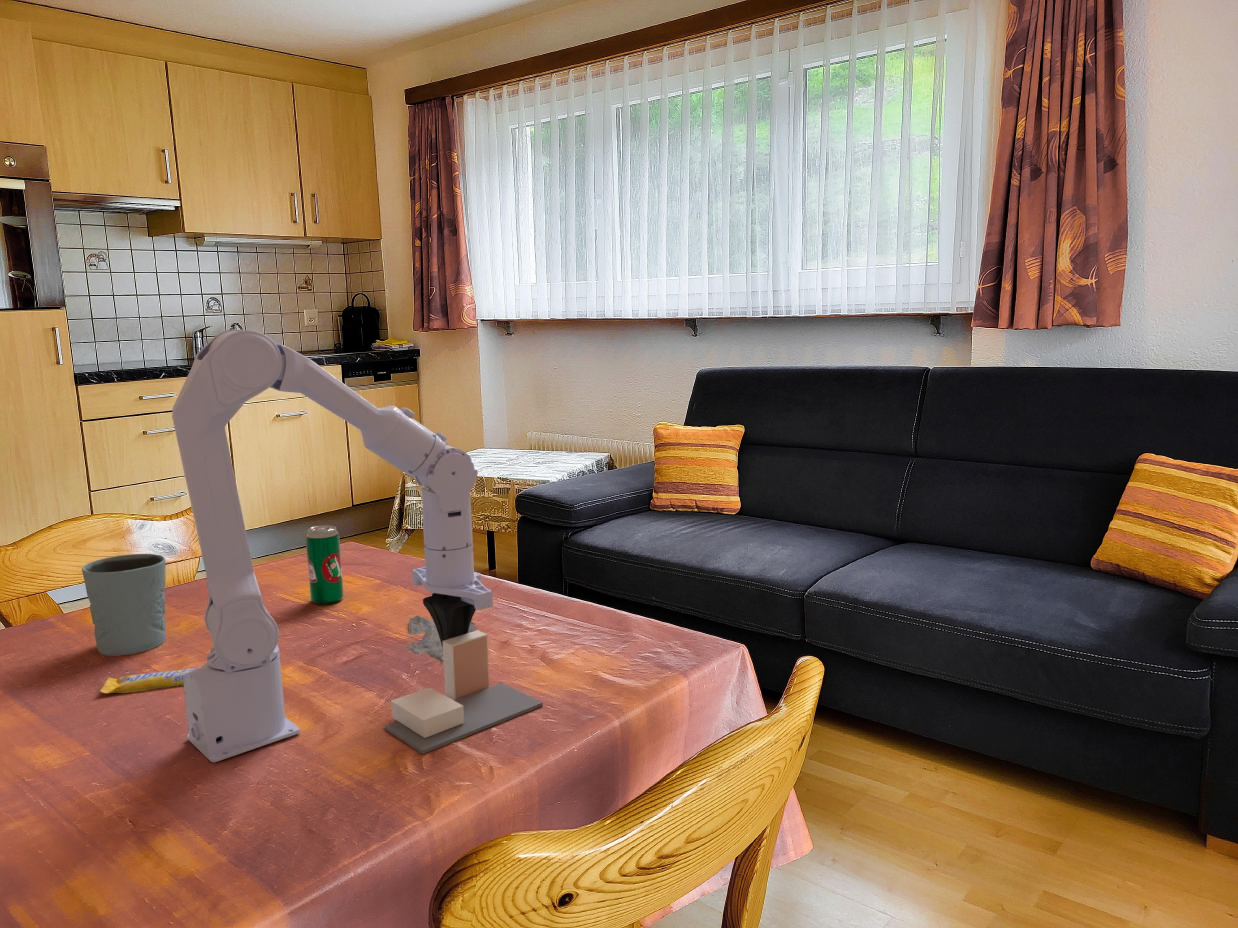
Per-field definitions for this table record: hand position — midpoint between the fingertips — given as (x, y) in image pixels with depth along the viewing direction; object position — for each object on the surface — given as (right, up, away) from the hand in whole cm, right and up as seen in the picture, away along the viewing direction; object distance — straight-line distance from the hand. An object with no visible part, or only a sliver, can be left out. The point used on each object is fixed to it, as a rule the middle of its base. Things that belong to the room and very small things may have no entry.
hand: (454, 651), depth 108 cm
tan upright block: (+2, -5, -1) cm, 5 cm away
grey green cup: (-49, -3, +17) cm, 52 cm away
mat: (+3, -6, -8) cm, 10 cm away
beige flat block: (-4, -4, -7) cm, 9 cm away
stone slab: (-5, -3, +16) cm, 17 cm away
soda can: (-27, +1, +35) cm, 44 cm away
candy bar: (-36, -5, +4) cm, 36 cm away
